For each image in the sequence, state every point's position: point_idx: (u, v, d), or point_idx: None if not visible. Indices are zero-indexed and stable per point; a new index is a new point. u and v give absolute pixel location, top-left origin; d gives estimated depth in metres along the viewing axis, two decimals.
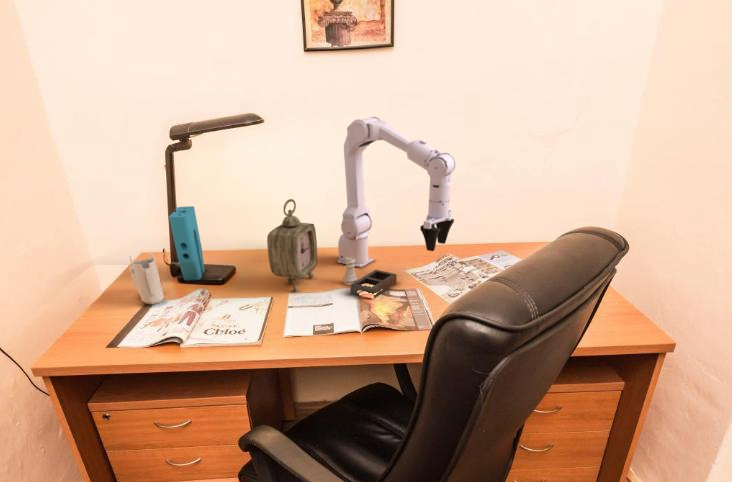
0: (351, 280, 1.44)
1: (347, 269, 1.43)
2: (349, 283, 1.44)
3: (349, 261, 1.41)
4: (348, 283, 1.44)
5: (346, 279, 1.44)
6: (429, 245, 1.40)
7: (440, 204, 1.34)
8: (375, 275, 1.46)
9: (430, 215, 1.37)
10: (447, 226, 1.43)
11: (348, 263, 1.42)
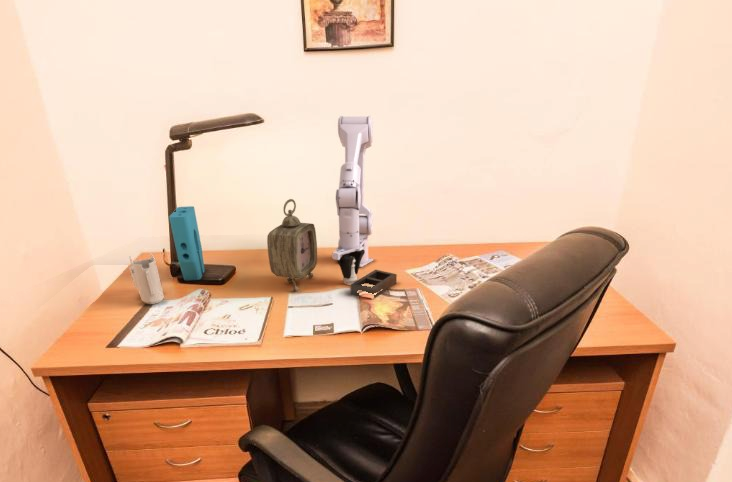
0: (351, 280, 1.44)
1: None
2: (349, 283, 1.44)
3: None
4: (348, 283, 1.44)
5: (346, 279, 1.44)
6: (345, 273, 1.42)
7: (349, 235, 1.36)
8: (375, 275, 1.46)
9: (341, 245, 1.39)
10: (357, 257, 1.43)
11: None
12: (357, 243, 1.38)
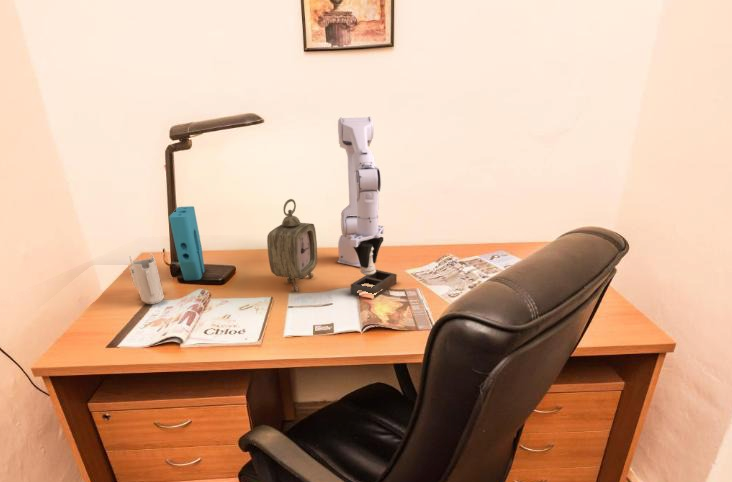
0: (369, 270, 1.35)
1: None
2: (367, 273, 1.35)
3: None
4: (366, 273, 1.35)
5: (364, 268, 1.35)
6: (362, 261, 1.33)
7: (367, 221, 1.27)
8: (375, 275, 1.46)
9: (358, 232, 1.30)
10: (376, 245, 1.34)
11: None
12: (376, 229, 1.29)
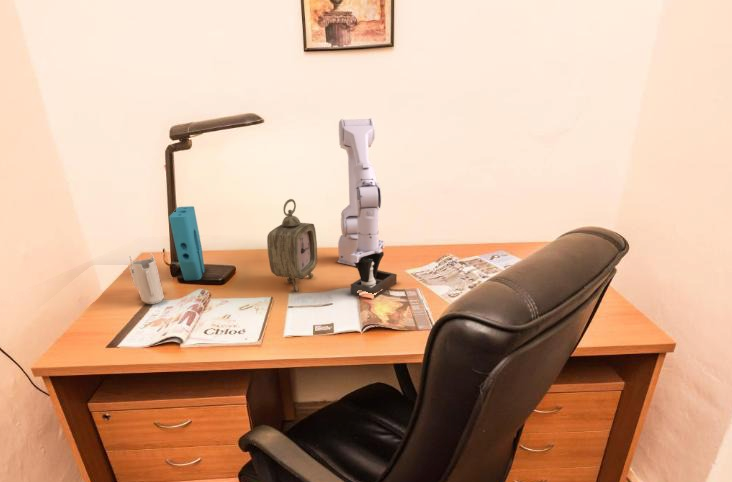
0: (369, 284, 1.37)
1: None
2: None
3: None
4: None
5: (364, 283, 1.37)
6: (363, 276, 1.35)
7: (368, 237, 1.29)
8: None
9: (359, 247, 1.32)
10: (376, 260, 1.36)
11: None
12: (376, 245, 1.31)
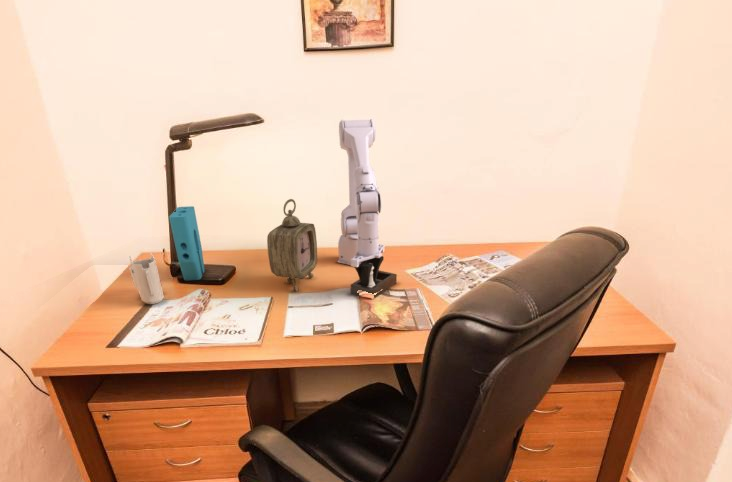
0: None
1: None
2: None
3: None
4: None
5: None
6: (363, 280, 1.36)
7: (368, 241, 1.30)
8: None
9: (359, 252, 1.32)
10: (376, 264, 1.37)
11: None
12: (376, 249, 1.32)
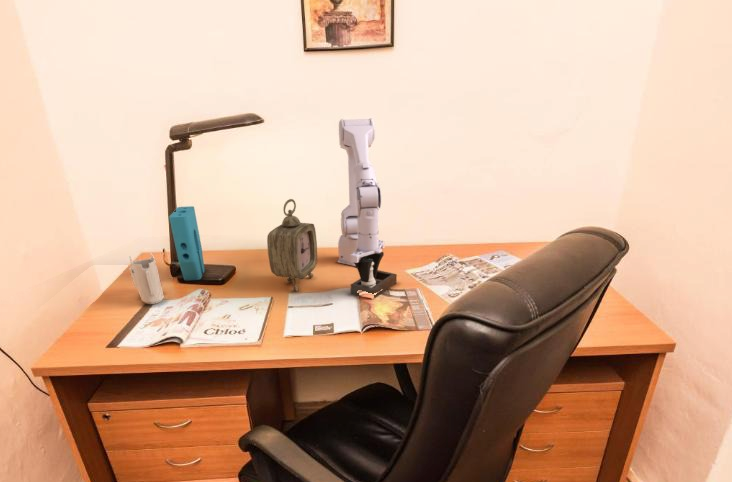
0: (369, 284, 1.37)
1: None
2: None
3: None
4: None
5: (364, 283, 1.37)
6: (363, 276, 1.35)
7: (368, 237, 1.29)
8: None
9: (359, 248, 1.32)
10: (376, 260, 1.36)
11: None
12: (376, 245, 1.31)
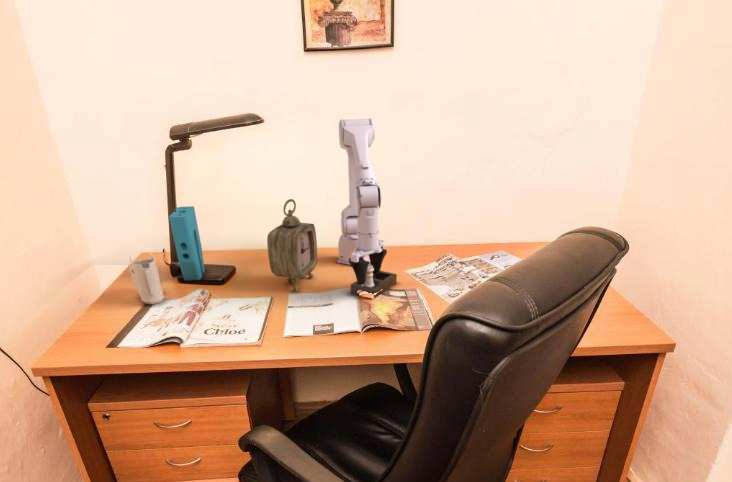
0: None
1: None
2: None
3: (368, 270, 1.35)
4: None
5: None
6: (359, 278, 1.34)
7: (368, 236, 1.29)
8: (375, 275, 1.46)
9: (359, 247, 1.32)
10: (379, 257, 1.37)
11: (366, 272, 1.36)
12: (376, 244, 1.31)
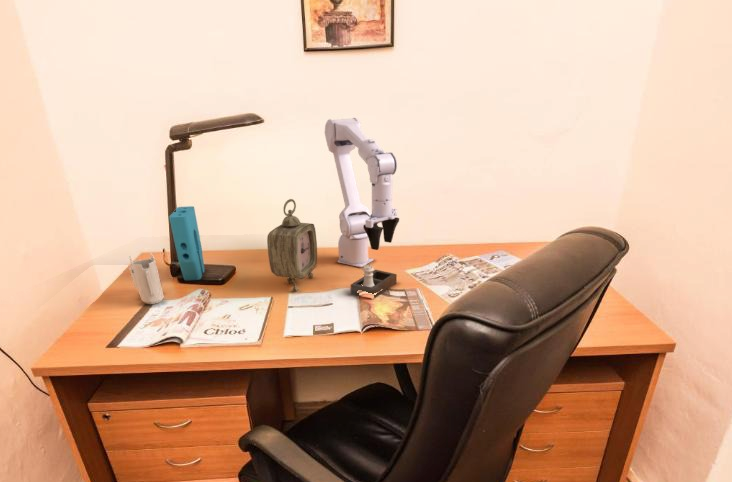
0: None
1: (365, 278, 1.37)
2: None
3: (368, 270, 1.35)
4: None
5: None
6: (373, 244, 1.40)
7: (382, 203, 1.35)
8: (375, 275, 1.46)
9: (373, 214, 1.38)
10: (392, 225, 1.43)
11: (366, 272, 1.36)
12: (390, 211, 1.37)
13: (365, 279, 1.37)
